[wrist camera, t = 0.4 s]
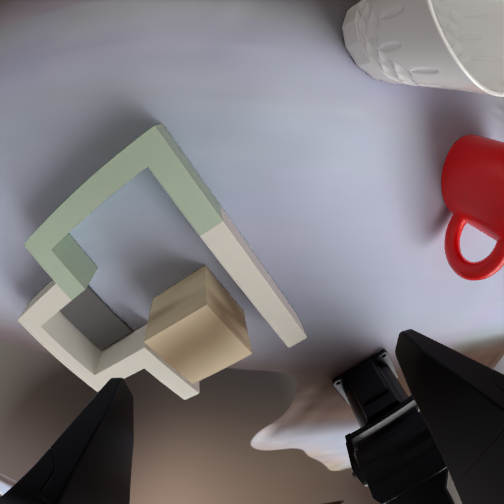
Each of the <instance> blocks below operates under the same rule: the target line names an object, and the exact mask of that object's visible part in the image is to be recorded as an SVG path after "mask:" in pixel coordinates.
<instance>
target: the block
mask: <svg viewBox="0 0 504 504" xmlns="http://www.w3.org/2000/svg"><path fill="white" fill-rule="evenodd" d="M144 343H146V344H147V345H148V346H149V347H150V348H151V349H152V350H153V351H154V352H155V353H157V354H158V355H159V356H160V357H161V358H162V359H163V360H165V361H166V362H167V363H168V364H169V365H170V366H172V367H173V368H174V369H175V370H176V371H177V372H179V373H180V374H181V375H182V376H183V377H185V378H186V379H187V380H188V381H190V382H191V383H192V384H194V383H196V382H198V381H200V380H202V379H204V378H206V377H208V376H210V375H212V374H214V373H216V372H218V371H220V370H222V369H224V368H226V367H228V366H230V365H232V364H234V363H236V362H238V361H240V360H242V359H244V358H246V357H247V356H249V355H251V354H252V350H251V345H250V341H249V336H248V331H247V326H246V321H245V317H244V312H243V310H242V309H241V307H240V306H239V305H238V304H237V303H236V301H235V300H234V299H233V298H232V297H231V295H230V294H229V293H228V292H227V291H226V289H225V288H224V287H223V286H222V284H221V283H220V282H219V281H218V280H217V278H216V277H215V276H214V275H213V273H212V272H211V271H210V270H209V268H208V267H207V266H206V265H205V266H203V267H201V268H200V269H198V270H197V271H195V272H194V273H192V274H191V275H189V276H187V277H186V278H184V279H183V280H181V281H180V282H178V283H177V284H175V285H173V286H172V287H170V288H169V289H167V290H166V291H164V292H163V293H161V294H160V295H158V296H156V297H155V298H153V300H152V304H151V309H150V313H149V318H148V323H147V328H146V333H145V338H144Z"/></svg>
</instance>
